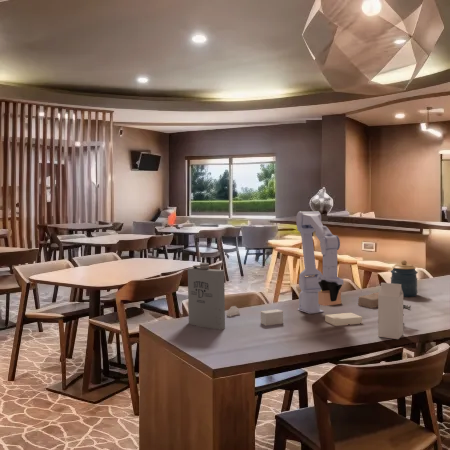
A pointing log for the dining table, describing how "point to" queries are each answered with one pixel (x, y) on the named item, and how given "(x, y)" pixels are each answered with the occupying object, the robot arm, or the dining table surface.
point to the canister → (405, 278)
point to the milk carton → (390, 311)
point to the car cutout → (233, 311)
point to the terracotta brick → (328, 298)
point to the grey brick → (271, 317)
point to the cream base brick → (343, 319)
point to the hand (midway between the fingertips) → (330, 300)
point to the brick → (369, 300)
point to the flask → (206, 297)
